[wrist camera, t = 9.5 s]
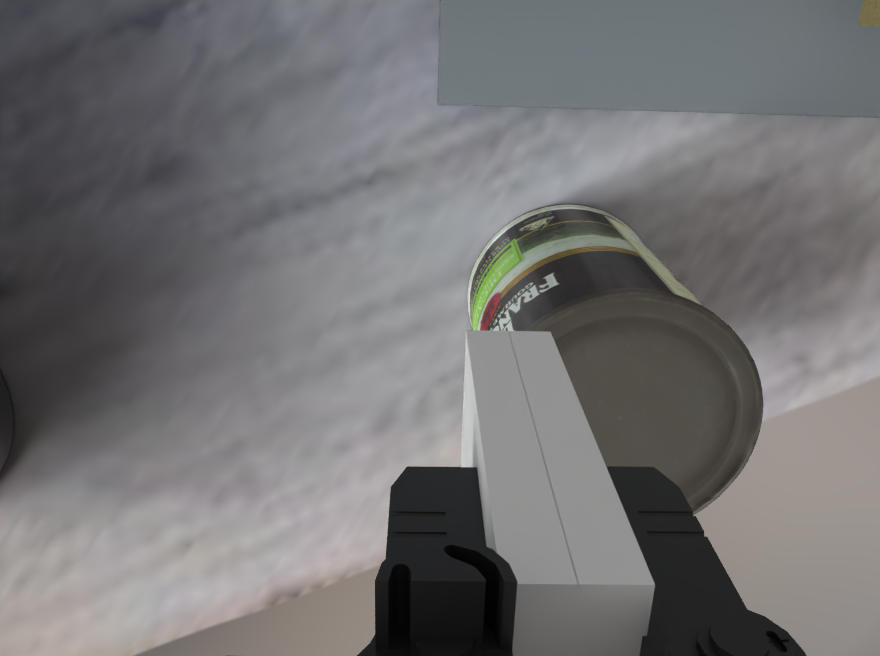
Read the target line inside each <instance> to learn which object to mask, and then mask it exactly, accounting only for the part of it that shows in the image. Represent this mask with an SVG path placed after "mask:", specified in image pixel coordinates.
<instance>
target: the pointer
mask: <svg viewBox="0 0 880 656" xmlns="http://www.w3.org/2000/svg"><path fill="white" fill-rule="evenodd" d="M858 26H872V27H880V0H863V3H862V8H861V12H860V17H859V22H858Z"/></svg>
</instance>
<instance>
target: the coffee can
mask: <svg viewBox="0 0 880 656" xmlns="http://www.w3.org/2000/svg"><path fill="white" fill-rule="evenodd" d="M468 313H469V318H470V322H471V326H472V330H481V331H543V332H551V334H552V336H553V339H554V341H555V344H556V346H557V349H558V351H559V353H560V356H561V358H562V361H563V363H564V365H565V368H566V370H567V373H568V375H569V378H570V380H571V382H572V385H573V387H574V390H575V392H576V395H577V397H578V399H579V402H580V404H581V407H582V409H583V411H584V414H585V416H586V419H587V421H588V424H589V426H590V428H591V431H592V433H593V436H594V438H595V441H596V443H597V445H598V448H599V450H600V453H601V455H602V457H603V460H604V462H605V465H606V466H624V467H655V468H656V469H657V470H659V471H660V472H661V473H662V474H664V475H665V476H666V477H667V478H668V479H670V480H671V481H672V482H673V483H675V484H676V485H677V486H678V487H680V489H681V491H682V493H683V494H684V496H685V498H686V500H687V502H688V503H689V505H690V507H691V509H692V511H693V515H694V514H696V513H698V512H699V511H701V510H702V509H704V508H705V507H707V506H708V505H709V504H711V503H712V502H713V501H714V500H716V499H717V498H718V497H719V496H720V495H721V494H722V493H723V492H724V491H725V490H726V489H727V488H728V487H729V486H730V485H731V483H732V482H733V481H734V480H735V479H736V478H737V477H738V475H739V474H740V472H741V471H742V469H743V468H744V467H745V465H746V463H747V462H748V460H749V457H750V456H751V454H752V452H753V449H754V446H755V444H756V441H757V438H758V435H759V432H760V427H761V422H762V415H763V396H762V387H761V381H760V378H759V374H758V371H757V368H756V365H755V362H754V360H753V359H752V357H751V355H750V353H749V350H748V349H747V347H746V346H745V344H744V343H743V342H742V340H741V339H740V338H739V337H738V335H737V334H736V333H735V332H734V331H733V330H732V328H731V327H730V326H728V325H727V324H726V323H725V322H724V321H723V320H721V319H720V318H719V317H718V316H716V315H715V314H714V313H713V312H711V311H710V310H708V309H707V308H705V307H704V306H703V305H702V304H701V303H700V302H699V301H698V300H697V299H696V298H695V297H694V296H693V295H692V293H691V292H690V291H689V290H688V289H687V288H686V287H684V285H683V284H681V283H680V282H679V280H678V279H677V278H676V277H675V276H674V275H673V274H672V273H671V272H670V271H669V270H668V269H667V268H666V267H665V266H664V265H663V264H662V263H661V262H660V261H659V260H658V259H657V258H656V256H655V255H654V254H653V253H652V252H651V251H650V250H649V249H648V248H647V247H646V246H645V245H644V244H643V242H642V241H641V239H640V238H639V237H638V236H637V235H636V234H635V232H634V231H633V230H632V229H631V228H629V227H628V226H627V225H626V224H625V223H623V222H622V221H621V220H619V219H618V218H616V217H614V216H612V215H610V214H608V213H607V212H605V211H602V210H599V209H595V208H591V207H587V206H582V205H556V206H549V207H544V208H541V209H537V210H534V211H531V212H528V213H526V214H524V215H522V216H520V217H518V218H517V219H515V220H513V221H512V222H510V223H509V224H507V225H506V226H505V227H503V228H502V229H501V230H500V231H499V232H498V233H497V234H496V235H495V236H494V237H493V238H492V239H491V240H490V241H489V243H488V244H487V245H486V246H485V248H484V249H483V251H482V252H481V254H480V255H479V257H478V259H477V260H476V263H475V265H474V267H473V270H472V273H471V277H470V281H469V286H468Z"/></svg>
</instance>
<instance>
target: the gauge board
mask: <svg viewBox="0 0 880 656" xmlns="http://www.w3.org/2000/svg"><path fill="white" fill-rule="evenodd" d="M862 3H863V0H440V32H439V68H438V104H440V105H473V106H507V107H540V108H573V109H607V110H640V111H673V112H707V113H740V114H773V115H807V116H840V117H873V118H880V27H872V26H858V22H859V17H860V12H861V8H862Z"/></svg>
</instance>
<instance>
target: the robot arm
mask: <svg viewBox="0 0 880 656" xmlns="http://www.w3.org/2000/svg"><path fill="white" fill-rule="evenodd" d="M13 427H14V421H13V410H12V404H11V400H10V396H9V393H8V390H7V386H6V384H5V382H4V379H3V377H2V375H1V373H0V471H1V469H2V468H3V466H4V464H5V462H6V459H7V457H8V455H9V451H10V448H11V444H12V439H13ZM375 629H376V630H375V631H376V632H375V633H376V634H375V636H374V638H373V639H372V641H371V643H370V644H369V645H368V646H367V647H366V648H365V649H364V650H362V651H361V652H360V653H359V654H358V655H357V656H806V654H805V652H804V651H803V650H802V649H801V647H800V646H799V645H798V644H797V643H796V642H795V640H794V639H793V638H792V637H791V636H790V635H789V633H788V632H787V631H785V630H784V629H782V628H780V627H779V626H778V625H776V624H775V623H773V622H772V621H770V620H769V619H768V618H766V617H765V616H762V615H760V614H757V613H754V612H752V611H749V610H747V608H746V606H745V605H744V603H743V601H742V599H741V597H740V596H739V594H738V592H737V590H736V588H735V587H734V585H733V583H732V581H731V579H730V577H729V576H728V574H727V572H726V570H725V568H724V567H723V565H722V563H721V561H720V559H719V558H718V556H717V554H716V552H715V551H714V549H713V547H712V545H711V543H710V541H709V540H708V538H707V537H704V530H703V529H702V527H701V525H700V523H699V521H698V520H697V518H696V516H693V511H692V509H691V507H690V505H689V503H688V502H687V500H686V498H685V496H684V494H683V493H682V491H681V489H680V487H678V486H677V485H676V484H675V483H673V482H672V481H671V480H670V479H668V478H667V477H666V476H665V475H664V474H662V473H661V472H660V471H659V470H657V469H656V468H655V467H624V466H606V465H605V462H604V460H603V457H602V455H601V453H600V450H599V448H598V445H597V443H596V441H595V438H594V436H593V433H592V431H591V428H590V426H589V424H588V421H587V419H586V416H585V414H584V411H583V409H582V407H581V404H580V402H579V399H578V397H577V395H576V392H575V390H574V387H573V385H572V382H571V380H570V378H569V375H568V373H567V370H566V368H565V365H564V363H563V361H562V358H561V356H560V353H559V351H558V349H557V346H556V344H555V341H554V339H553V336H552V334H551V332H543V331H481V330H466V348H465V373H464V397H463V422H462V446H461V467H406V469H405V470H404V471H403V472H402V474H401V475H400V476H399V478H398V479H397V480H396V481H395V483H394V484H393V485H392V486H391V494H390V507H389V521H388V537H387V549H386V560H384V561H383V562H382V564H381V566H380V569H379V572H378V574H377V577H376V580H375Z"/></svg>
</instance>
